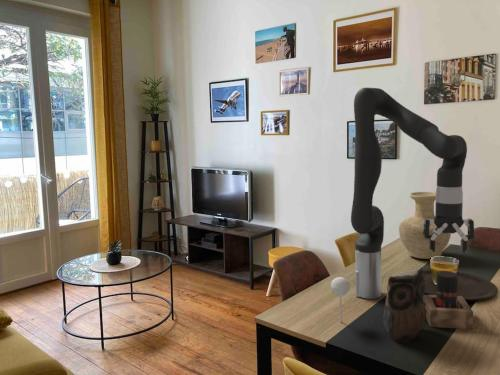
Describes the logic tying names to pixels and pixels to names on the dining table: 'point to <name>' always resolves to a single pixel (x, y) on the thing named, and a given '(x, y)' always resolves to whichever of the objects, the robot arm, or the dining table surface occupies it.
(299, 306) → the dining table surface
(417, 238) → the vase
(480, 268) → the dining table surface
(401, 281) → the owl
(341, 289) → the lollipop
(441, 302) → the deodorant
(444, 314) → the socket block
